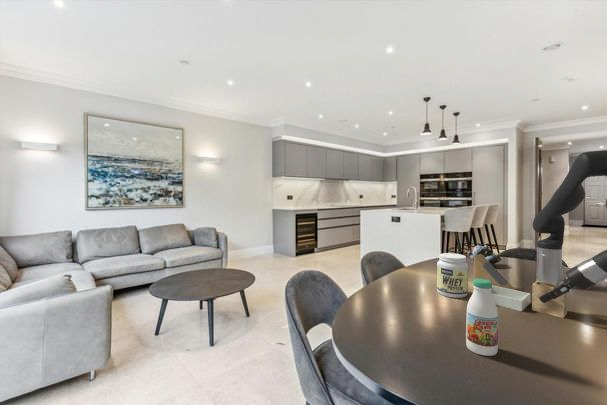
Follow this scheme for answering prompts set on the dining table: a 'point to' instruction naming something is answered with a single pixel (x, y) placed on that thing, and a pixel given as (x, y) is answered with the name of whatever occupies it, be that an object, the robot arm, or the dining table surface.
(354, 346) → the dining table surface
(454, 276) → the supplement tub
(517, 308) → the grey crate
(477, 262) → the sandwich container
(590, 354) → the dining table surface
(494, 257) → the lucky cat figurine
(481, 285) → the milk bottle
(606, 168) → the robot arm
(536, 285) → the oak crate
